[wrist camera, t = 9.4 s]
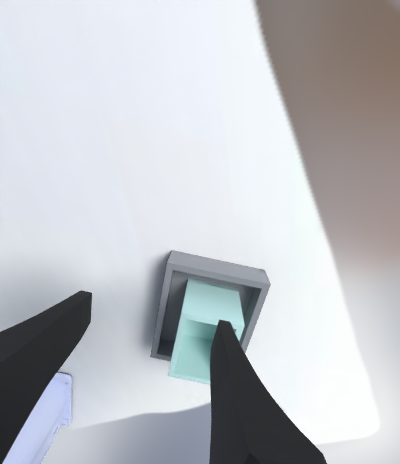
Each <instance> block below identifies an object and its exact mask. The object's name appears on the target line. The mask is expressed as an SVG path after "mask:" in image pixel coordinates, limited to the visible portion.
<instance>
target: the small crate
mask: <svg viewBox="0 0 400 464" xmlns="http://www.w3.org/2000/svg"><path fill="white" fill-rule="evenodd" d="M219 319H220V320H225V321H230V322H231V324H232V327H233V329H234V331H235V334H236V336H237V338H238V340H239V341H240V338H241V335H242V332H243V329H244V326H245V325H244V319H243V314H242V308H241V302H240V297H239V291H238V289H236V288H232V287H227V286H222V285H217V284H212V283H208V282H203V281H198V280H193V279H189V278H188V282H187V287H186V291H185V296H184V300H183V305H182V310H181V314H180V319H179V323H178V328H177V333H176V338H175V343H174V348H173V352H172V357H171V362H170V367H169V372H168V376H169V377H174V378H179V379H184V380H189V381H194V382H199V383H204V384H209V385H210V355H211V345H212V342H213V339H214V335H215V332H216V329H217V325H218V322H219Z"/></svg>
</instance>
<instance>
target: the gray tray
mask: <svg viewBox="0 0 400 464" xmlns="http://www.w3.org/2000/svg"><path fill="white" fill-rule="evenodd" d="M188 278H189V279H193V280H198V281H203V282H208V283H212V284H217V285H222V286H227V287H232V288H236V289H238V291H239V297H240V302H241V308H242V314H243V319H244V325H245V326H244V329H243V332H242V335H241V338H240V341H239V343H240V345H241V347H242V349H243V351H244V353H245V352H246V350H247V347H248V344H249V342H250V339H251V336H252V333H253V331H254V328H255V325H256V323H257V320H258V317H259V315H260V312H261V309H262V306H263V304H264V301H265V298H266V296H267V293H268V290H269V288H270V285H271V284H270V282H269V279H268V277H267V275H266V272H265V270H262V269H257V268H252V267H248V266H243V265H238V264H234V263H229V262H224V261H219V260H215V259H210V258H205V257H201V256H196V255H191V254H187V253H182V252H177V251H173V250H172V252H171V254H170V257H169V259H168V261H167V266H166V272H165V277H164V283H163V288H162V294H161V300H160V305H159V311H158V317H157V322H156V328H155V333H154V339H153V345H152V350H151V356H150V357H153V358H158V359H163V360H168V361H171V357H172V352H173V348H174V343H175V338H176V333H177V328H178V323H179V319H180V314H181V310H182V305H183V300H184V296H185V291H186V287H187V282H188Z"/></svg>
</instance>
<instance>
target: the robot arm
mask: <svg viewBox="0 0 400 464" xmlns="http://www.w3.org/2000/svg"><path fill="white" fill-rule="evenodd" d="M91 302H92V293H91V292H86V291H79V292H78V293H76V294H74V295H72V296H70V297H69V298H67V299H65V300H63V301H62V302H60V303H58V304H56V305H55V306H53V307H51V308H49V309H47V310H46V311H44V312H42V313H40V314H38V315H36V316H34V317H32V318H30V319H28V320H26V321H24V322H22V323H20V324H17V325H15V326H13V327H11V328H8V329H6V330H4V331H1V332H0V464H41V462H42V460H43V458H44V456H45V455H46V453H47V451H48V449H49V447H50V445H51V444H52V442H53V440H54V438H55V436H56V435H57V433H58V431H59V429H60V427H61V425H65V426H68V425H70V423H71V405H72V377H71V376H70V375H67V374H62V373H57V372H58V370H59V369H60V367H61V366H62V365H63V363H64V362H65V361H66V359H67V358H68V356H69V355H70V354H71V352H72V351H73V350H74V348H75V347H76V345H77V344H78V343H79V341H80V340H81V338H82V336H83V335H84V333H85V331H86V329H87V327H88V326H89V324H90V322H91ZM210 386H211V413H212V415H211V416H212V417H211V418H212V421H211V422H212V423H211V444H210V463H209V464H327V463H326V460H325V458H324V456H323V454H322V453H321V452H320V451H319V450H318V449H317V448H316V446H315V445H314V444H313V443H312V442H311V441H310V440H309V439H308V438H307V437H306V436H305V435H304V434H303V433H302V432H301V431H300V430H299V429H298V428H297V427H296V426H295V424H294V423H293V422H292V421H291V420H290V419H289V418H288V417H287V415H286V414H285V413H284V412H283V410H282V409H281V408H280V407H279V405H278V404H277V403H276V402H275V400H274V399H273V398H272V396H271V395H270V394H269V392H268V391H267V389H266V388H265V387H264V385H263V384H262V382H261V381H260V379H259V377H258V376H257V374H256V373H255V371H254V369H253V367H252V366H251V364H250V362H249V360H248V358H247V357H246V355H245V353H244V351H243V349H242V347H241V345H240V343H239V340H238V338H237V336H236V334H235V331H234V329H233V327H232V324H231V322H230V321H225V320H220V319H219V322H218V325H217V329H216V332H215V335H214V339H213V342H212V345H211V355H210Z"/></svg>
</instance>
